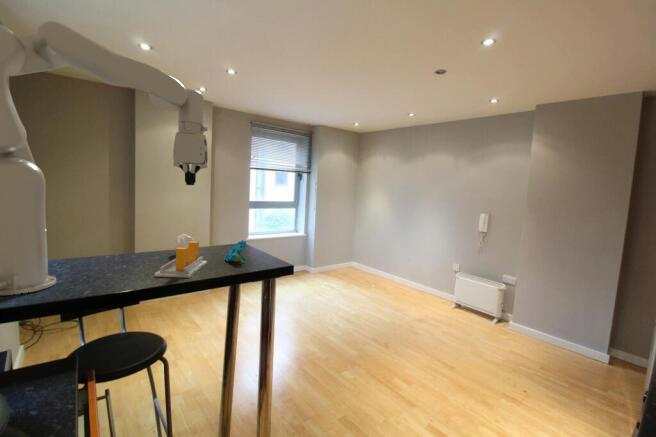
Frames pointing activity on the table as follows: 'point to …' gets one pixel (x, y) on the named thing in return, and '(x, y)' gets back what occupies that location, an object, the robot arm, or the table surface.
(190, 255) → the pipe clamp
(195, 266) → the rail plate
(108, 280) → the table surface
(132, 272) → the table surface
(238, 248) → the blue lumpy piece
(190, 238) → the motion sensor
